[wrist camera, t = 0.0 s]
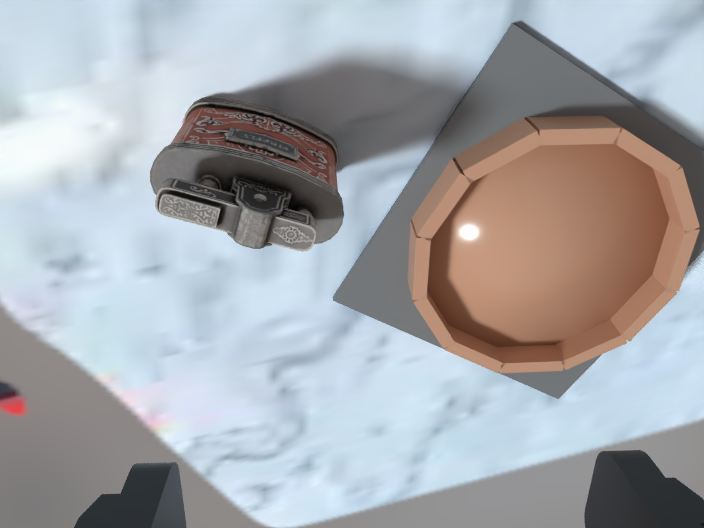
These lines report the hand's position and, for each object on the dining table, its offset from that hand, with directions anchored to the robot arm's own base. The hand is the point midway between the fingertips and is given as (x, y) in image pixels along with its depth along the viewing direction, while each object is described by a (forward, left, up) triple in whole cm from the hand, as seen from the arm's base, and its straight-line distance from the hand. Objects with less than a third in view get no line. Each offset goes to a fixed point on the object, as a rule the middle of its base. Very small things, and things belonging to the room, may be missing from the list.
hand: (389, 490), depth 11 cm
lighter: (+3, -3, -23) cm, 23 cm away
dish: (+1, +14, -22) cm, 26 cm away
